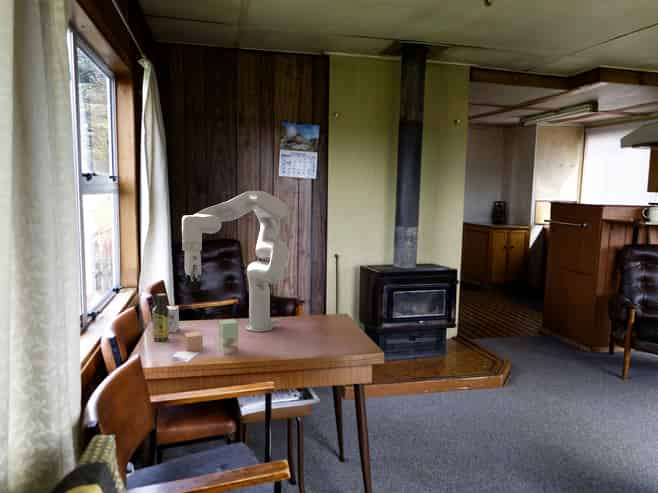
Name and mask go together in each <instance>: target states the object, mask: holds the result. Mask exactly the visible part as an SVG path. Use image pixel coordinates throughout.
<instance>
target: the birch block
mask: <svg viewBox="0 0 658 493" xmlns="http://www.w3.org/2000/svg"><path fill="white" fill-rule="evenodd" d="M218 336H219V337H218V338H219V340H218V341H219V342H218V343H219V344H218V345H219V347H218V349H219V351H220V352H221V353H222V354H223V355H226V354H235V353H239V337H238V338H229V339H223V338H222V337H221V336H220V335H219V334H218Z"/></svg>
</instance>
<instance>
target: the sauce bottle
mask: <svg viewBox="0 0 658 493" xmlns="http://www.w3.org/2000/svg"><path fill="white" fill-rule="evenodd" d="M155 298H156V305H155V306H156V308H155V311H154V321H153V332H152V334H153V340H154V341H156V342H165V341H167V340H169V336H170V335H169V333H170V332H169V309H168V307H167V306H168V305H167V294H166V293H157V294H156V297H155Z"/></svg>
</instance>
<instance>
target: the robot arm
mask: <svg viewBox="0 0 658 493" xmlns="http://www.w3.org/2000/svg"><path fill="white" fill-rule="evenodd" d="M251 211H254V214H255V216H256V217H257V220H258V222H259V227H260V228H259V232H258V233H259V234H258V237H257V242H256V246H255V255H256V257H257V258H259V259H264V260H269V262H267V261H262V260H261V261H260V260H257V261H256V260H255V261H252V262H251V263H249V264H248V266H247V268H246V275H247V276H246V277H247V280H248V291H249V292H248V295H249V296H248V297H249V298H248V299H249V300H248V301H249V302H248V303H249V304H248V306H249V307H248V322H249V323H248V324H246V325H245V329H246V331H250V332H255V333H256V332H258V333H259V332H269V331H271V330H273V328H274V324H280V318H271V307H270V306H271V291H270V287H269V285H276V284H278V283H280V282H281V280H282V278H283V276H284V273H285V268H286V263H287V259H288V255H289V250H288V245H287V243H286V242H285V241H283V240H280V239H278V236H279V225H278V223H277V221H276V220H282V219H284V218H285V217H286V216H287V213H288V208H287V204H286V203H285V202H284V201H283V200H281V199H280V198H278V197H276V196H274V195H272V194H270V193H269V192H267V191H262V190H247V191H245V192H243V193H241V194H239V195H236V196H235V197H233V198H231V199H229V200H227V201H224V202H222V203H218V204H216V205H212V206H209V207H206V208H204V209H202V210H200V211H198V212H196V213H194V214H193V215H191V214H190V215H183V216H182V218H181V239H182V240H181V242H182V244H181V248H182V249H181V250H182V251H183V252H184V272H185V279H184V280H185V288H190V289H189V290H190V291H191V292H199V291H200V278H199V276H201V275H202V256H201V251H203V250H202V249H203V248H202V247H203V246H202V245H203V244H202V243H203V240H202V239H203V237H202V236H203V234H204V233H205V234H215V233H217V232H219V231H220V230H221V228H222V222H231V221H234V220H237V219H239V218H241V217H242V216H244V215H246V214H248V213H250V212H251Z"/></svg>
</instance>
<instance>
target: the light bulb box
mask: <svg viewBox="0 0 658 493" xmlns="http://www.w3.org/2000/svg"><path fill="white" fill-rule="evenodd" d="M166 306H167V307H168V309H169V333H176V332H178V330H179V329H180V323H179V322H180V316H179V310H180V309H179V308H180V306H179V305H166ZM155 308H156V305H155V306H154V307H153V308H152V309H151V328H152V330H151V333H153V321H154V311H155Z"/></svg>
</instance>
